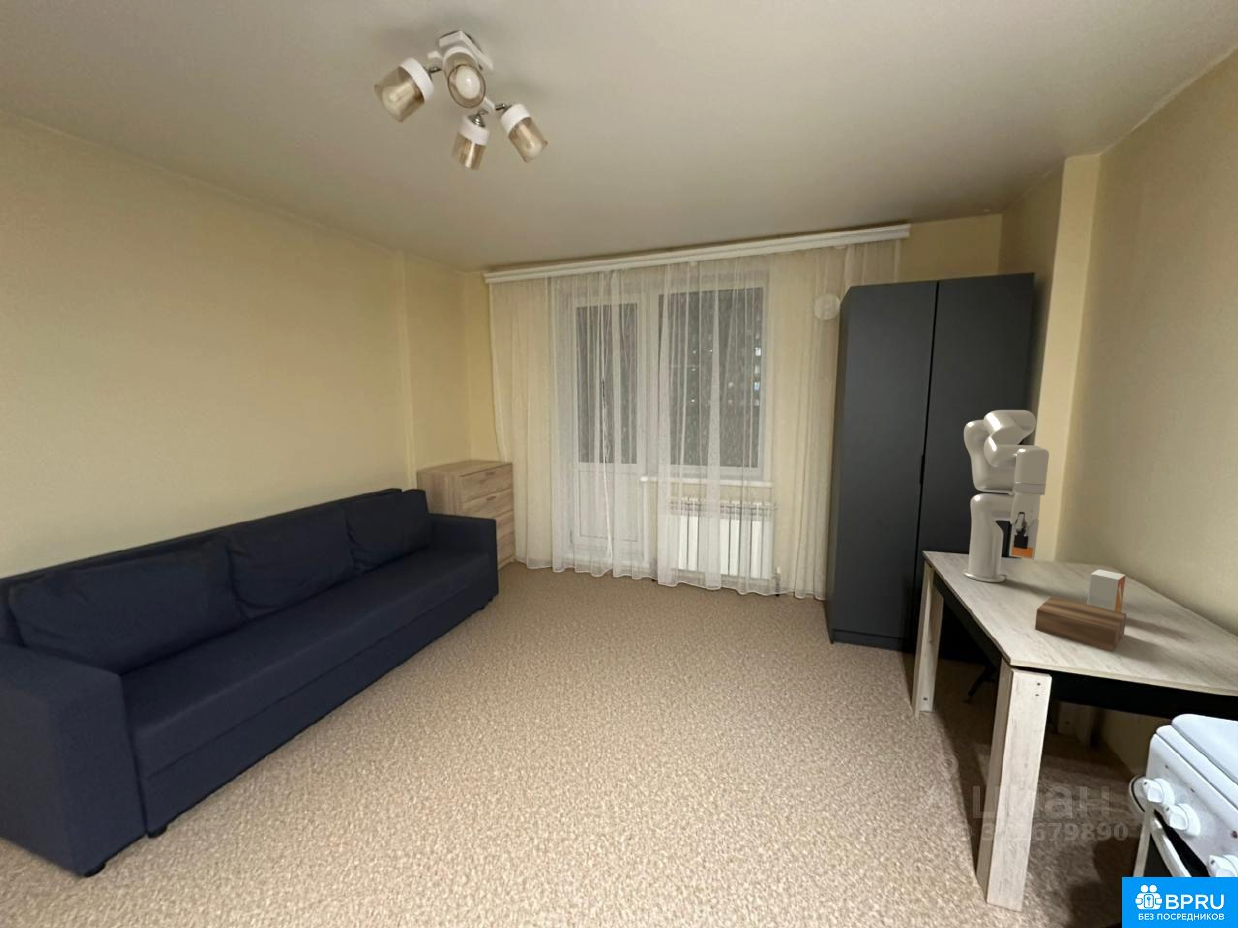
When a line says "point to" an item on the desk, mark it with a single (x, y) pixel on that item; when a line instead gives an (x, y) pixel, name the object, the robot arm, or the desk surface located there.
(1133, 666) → the desk surface
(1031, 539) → the skincare box
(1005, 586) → the desk surface
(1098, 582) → the small box
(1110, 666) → the desk surface
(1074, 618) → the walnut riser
